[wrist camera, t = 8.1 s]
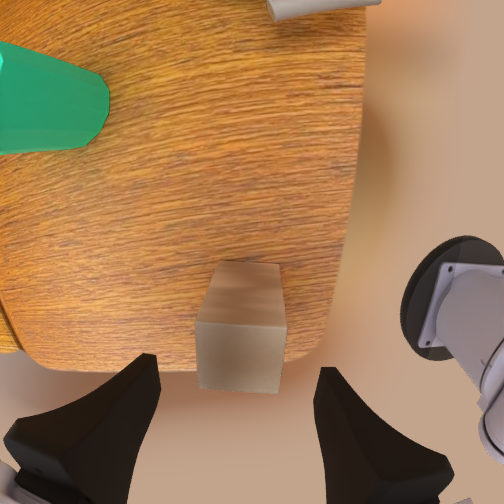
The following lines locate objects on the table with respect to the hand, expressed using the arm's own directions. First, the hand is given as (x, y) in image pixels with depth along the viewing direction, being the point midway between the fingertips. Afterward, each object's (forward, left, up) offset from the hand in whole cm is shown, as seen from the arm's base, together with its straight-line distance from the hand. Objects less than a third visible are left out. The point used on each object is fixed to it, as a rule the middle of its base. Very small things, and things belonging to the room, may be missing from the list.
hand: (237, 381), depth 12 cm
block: (0, 0, -9) cm, 9 cm away
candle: (+13, -13, -10) cm, 20 cm away
